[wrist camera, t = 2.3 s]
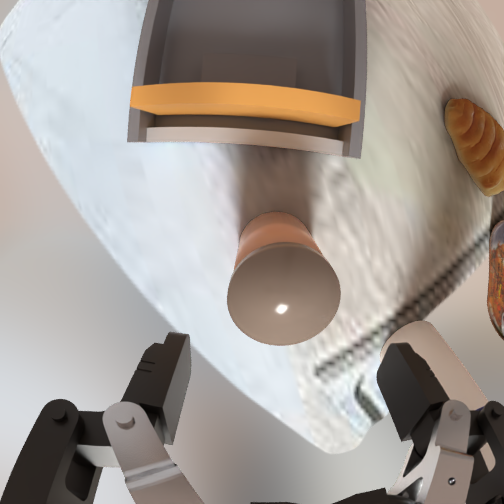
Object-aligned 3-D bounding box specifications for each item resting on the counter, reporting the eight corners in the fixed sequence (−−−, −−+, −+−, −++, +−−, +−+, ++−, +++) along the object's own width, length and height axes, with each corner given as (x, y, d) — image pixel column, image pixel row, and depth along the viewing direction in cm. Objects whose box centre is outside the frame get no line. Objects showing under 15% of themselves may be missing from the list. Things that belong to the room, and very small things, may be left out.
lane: (179, -45, 12) (164, -74, 7) (349, -34, 12) (365, -63, 7) (145, 142, 18) (114, 142, 14) (345, 156, 19) (371, 160, 14)
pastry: (426, 133, 18) (453, 133, 14) (452, 81, 16) (478, 76, 12) (482, 199, 19) (507, 208, 16) (504, 149, 17) (528, 152, 14)
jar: (240, 206, 20) (230, 242, 13) (318, 214, 20) (351, 252, 13) (235, 278, 22) (225, 341, 15) (306, 283, 22) (327, 347, 15)
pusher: (165, 62, 16) (139, 41, 11) (338, 74, 16) (362, 53, 11) (159, 115, 17) (129, 106, 12) (334, 127, 17) (359, 121, 13)
